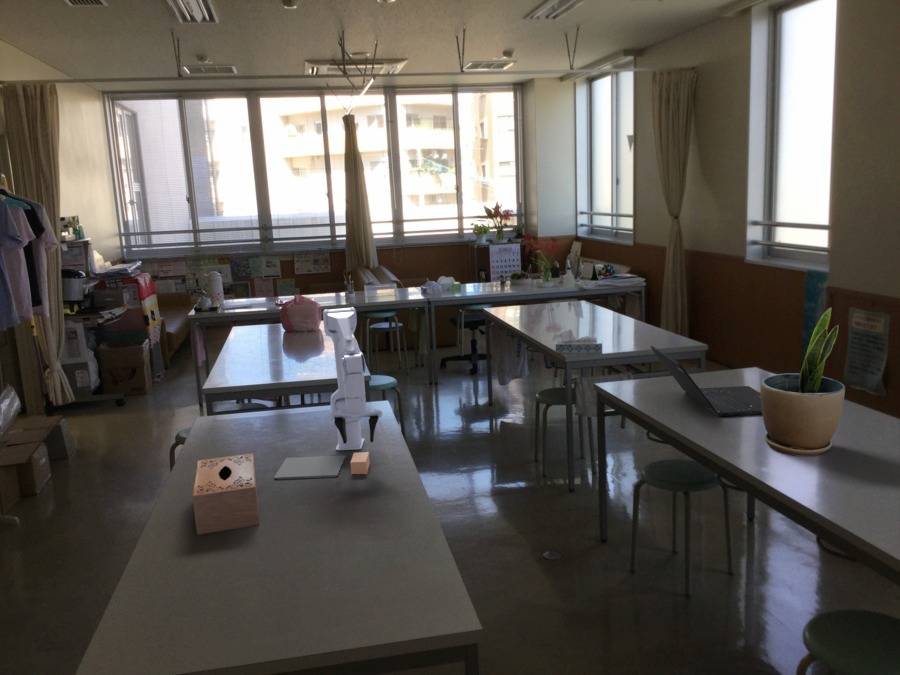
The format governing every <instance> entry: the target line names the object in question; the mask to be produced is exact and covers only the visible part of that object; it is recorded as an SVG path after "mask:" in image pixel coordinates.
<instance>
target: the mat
mask: <svg viewBox="0 0 900 675" xmlns="http://www.w3.org/2000/svg"><path fill="white" fill-rule="evenodd" d="M346 458H347V457H346V455H327V456H326V455H320V456H304V457H303V456H301V457H285V460H284V461H283V462H282V464H281V465H280V468H278V471H277V472H276V474H275V475H274V476H273V480H274V479H278V480H297V479H298V480H299V479H317V478H320V479H321V478H322V477H323V478H337V477H336V476H338V477H339V474H340V472H339V471H341V469H342V467H343V465H344V462H343V461H345V460H346ZM344 459H345V460H344ZM342 464H343V465H342ZM341 466H342V467H341Z"/></svg>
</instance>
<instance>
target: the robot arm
mask: <svg viewBox="0 0 900 675" xmlns="http://www.w3.org/2000/svg"><path fill="white" fill-rule="evenodd" d="M357 317H358V316H357V310H356V308H354V307H353V306H350V307H341V308H332V309H331V308H329V309H327V308H325V309H324V310H323V311H322V321H323V328H324V333H325V336H326V337H328V338H329V337H330V338H331V341H332V343H333V348H334V349H333V350H334V358H335V360H334V361H335V370H336V379H337V387H338V388H337V389H336V390H335V391H334V392H333V393H332V394H331V396H330V420H331V421H332V420H334V425H335V426H336V432H337V441H338V442H337V445H336V447H335V451H350V450H351V451H354V450H362V447H363V445H364V443H365V438H364V437H363V438H362V432H361V431H362V430H361V418H369V419H368V425H369V441H370V443H373V442H374V438H375V437H374V436H375V432H376V426H377V423H378V421H379V418H383V409H382V408H368V407H367V399H366V388H365V375H364V374H366V359H365V356H364V354H363V352H362V351H361V350H360V347H359V344H358V341H357V339H356V338H355V337H353V334H355V331H356V328H357V324H358V322H357V321H358V320H357V319H358V318H357Z"/></svg>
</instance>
